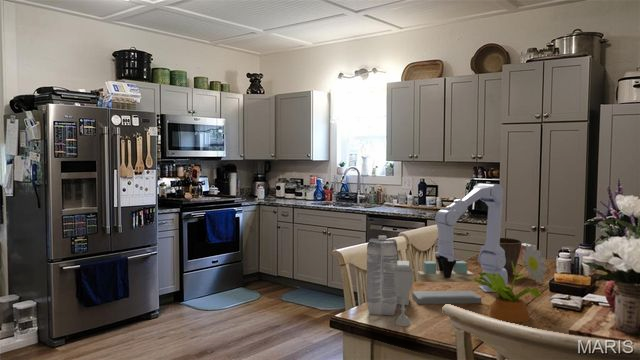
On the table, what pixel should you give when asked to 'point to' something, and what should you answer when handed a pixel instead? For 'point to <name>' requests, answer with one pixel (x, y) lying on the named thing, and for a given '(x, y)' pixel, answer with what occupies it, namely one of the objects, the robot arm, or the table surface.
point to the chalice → (403, 290)
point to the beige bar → (440, 277)
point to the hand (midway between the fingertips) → (445, 276)
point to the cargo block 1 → (429, 267)
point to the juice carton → (381, 276)
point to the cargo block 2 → (460, 267)
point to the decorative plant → (507, 302)
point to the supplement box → (399, 299)
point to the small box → (521, 256)
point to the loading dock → (445, 297)
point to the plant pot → (510, 252)
